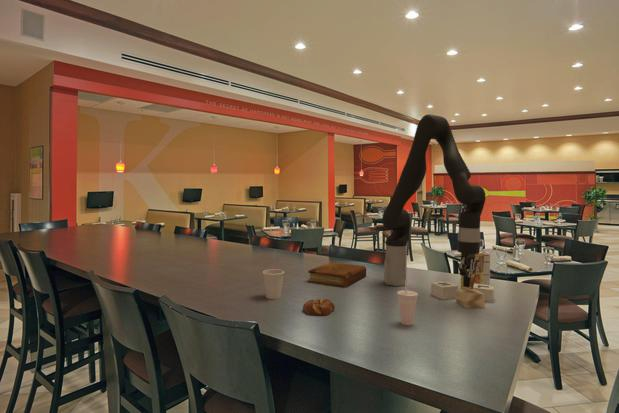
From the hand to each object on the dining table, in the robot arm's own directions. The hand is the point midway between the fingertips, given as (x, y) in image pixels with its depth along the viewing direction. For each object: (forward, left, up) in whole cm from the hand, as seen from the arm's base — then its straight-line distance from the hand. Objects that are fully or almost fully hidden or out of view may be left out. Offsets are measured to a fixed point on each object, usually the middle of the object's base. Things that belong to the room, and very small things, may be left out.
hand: (466, 286), depth 141 cm
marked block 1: (-5, +10, -7) cm, 13 cm away
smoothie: (-27, -20, -7) cm, 34 cm away
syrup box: (+18, +29, -7) cm, 35 cm away
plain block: (+1, -1, -7) cm, 7 cm away
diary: (-45, +36, -7) cm, 58 cm away
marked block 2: (+9, +7, -7) cm, 13 cm away
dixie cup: (-72, +7, -7) cm, 72 cm away
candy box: (+10, +20, -7) cm, 23 cm away
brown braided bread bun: (-54, -9, -7) cm, 56 cm away
